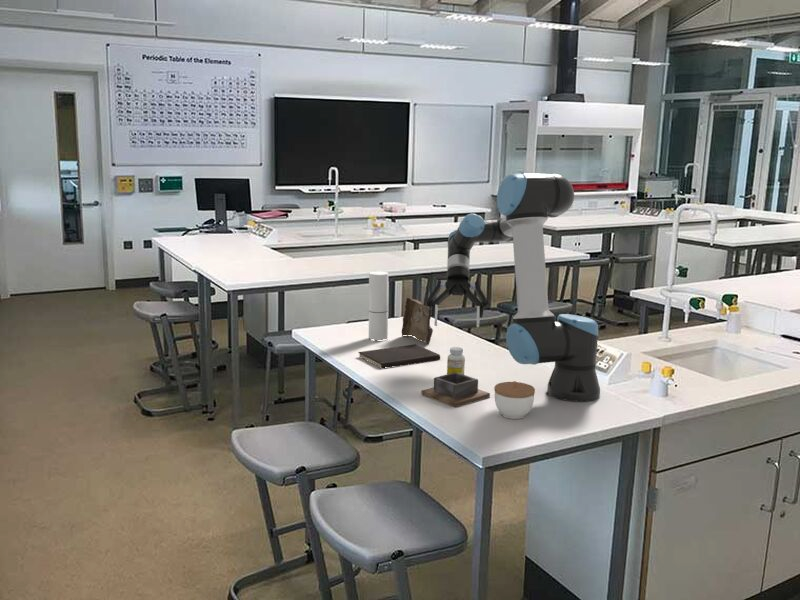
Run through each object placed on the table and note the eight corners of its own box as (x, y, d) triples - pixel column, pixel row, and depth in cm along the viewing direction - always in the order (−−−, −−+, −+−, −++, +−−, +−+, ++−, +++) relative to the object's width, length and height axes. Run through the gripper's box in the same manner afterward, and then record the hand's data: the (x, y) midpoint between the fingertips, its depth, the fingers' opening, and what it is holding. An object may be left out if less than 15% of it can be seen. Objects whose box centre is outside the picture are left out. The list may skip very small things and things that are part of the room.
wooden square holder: (489, 397, 214) (490, 379, 213) (455, 407, 205) (456, 389, 204) (455, 385, 224) (456, 368, 223) (421, 394, 215) (421, 377, 214)
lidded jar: (541, 415, 200) (542, 381, 198) (519, 425, 192) (521, 390, 190) (507, 405, 207) (509, 373, 205) (485, 415, 199) (486, 381, 197)
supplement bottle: (457, 382, 227) (458, 351, 225) (443, 378, 231) (444, 348, 229) (467, 378, 231) (468, 348, 229) (453, 374, 235) (454, 345, 233)
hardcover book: (358, 358, 253) (358, 352, 253) (415, 350, 265) (415, 344, 264) (381, 370, 240) (381, 363, 239) (440, 361, 252) (440, 354, 251)
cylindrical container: (388, 336, 281) (389, 271, 276) (386, 341, 274) (387, 275, 269) (370, 336, 282) (370, 271, 277) (367, 340, 275) (367, 274, 270)
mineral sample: (400, 336, 282) (401, 297, 279) (409, 335, 284) (410, 296, 281) (426, 346, 268) (427, 305, 265) (435, 345, 270) (436, 304, 267)
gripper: (494, 278, 252) (495, 331, 241) (421, 276, 254) (418, 329, 242) (496, 265, 246) (496, 319, 234) (421, 263, 248) (417, 316, 236)
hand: (456, 324), depth 238 cm, fingers open, 13 cm apart
